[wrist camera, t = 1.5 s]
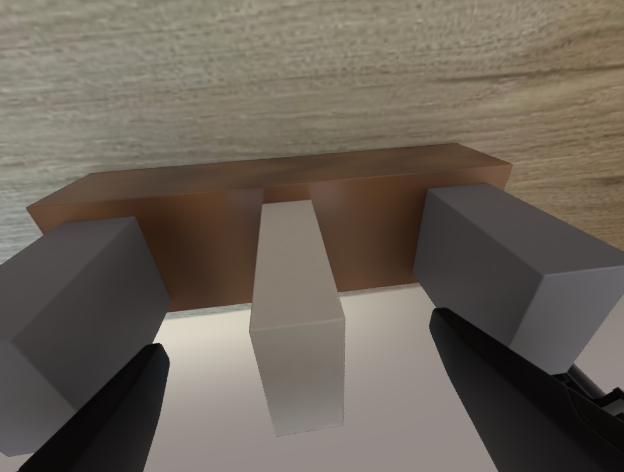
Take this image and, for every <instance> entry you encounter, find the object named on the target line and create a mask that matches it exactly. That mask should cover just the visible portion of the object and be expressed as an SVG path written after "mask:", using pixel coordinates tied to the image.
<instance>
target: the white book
mask: <svg viewBox="0 0 624 472" xmlns="http://www.w3.org/2000/svg"><path fill="white" fill-rule="evenodd" d="M250 318H251V319H250V326H249V333H250V337H251V341H252V345H253V349H254V353H255V357H256V360H257V364H258V368H259V372H260V376H261V380H262V384H263V388H264V392H265V396H266V400H267V404H268V407H269V412H270V416H271V419H272V423H273V428H274V431H275V435H276V436H277V437H278V436H284V435H290V434H296V433H303V432H310V431H316V430H322V429H328V428H335V427H342V426H343V418H344V415H343V413H344V361H345V316H344V313H343V310H342V306H341V302H340V299H339V295H338V292H337V288H336V285H335V281H334V278H333V274H332V271H331V267H330V264H329V260H328V257H327V253H326V250H325V246H324V243H323V239H322V236H321V232H320V229H319V225H318V222H317V218H316V215H315V211H314V208H313V204H312V201H311V200H302V201H291V202H280V203H270V204H263V205H262V212H261V221H260V231H259V240H258V250H257V260H256V269H255V279H254V288H253V298H252V307H251V317H250Z"/></svg>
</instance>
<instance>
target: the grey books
mask: <svg viewBox="0 0 624 472" xmlns="http://www.w3.org/2000/svg"><path fill="white" fill-rule="evenodd" d="M412 273H413V275H414V276H415V277H416V279H417V280H418V282H419V283H420V285H421V286H422V288H423V289H424V290H425V292H426V293H427V295H428V296H429V298H430V299H431V301H432V302H433V303H434V305H435V306H436V308H441V307H446V308H449V309H450V310H452V311H453V312H455V313H456V314H458V315H459V316H461V317H462V318H464V319H465V320H467V321H469V322H470V323H472V324H473V325H475V326H476V327H478V328H479V329H481V330H482V331H484V332H485V333H487V334H488V335H490V336H491V337H493V338H495V339H496V340H498V341H499V342H501V343H502V344H504V345H505V346H507V347H508V348H510V349H511V350H513V351H514V352H516V353H518V354H519V355H521V356H522V357H524V358H525V359H527V360H528V361H530V362H531V363H533V364H534V365H536V366H537V367H539V368H541V369H542V370H544V371H545V372H547V373H548V374H550V375H554V374H560V373H566V372H567V371H568V370H569V368H570V367H571V365H572V364H573V363H574V361H575V360H576V359H577V357H578V356H579V354H580V353H581V352H582V350H583V349H584V347H585V346H586V345H587V343H588V342H589V341H590V339H591V338H592V337H593V335H594V334H595V332H596V331H597V330H598V328H599V327H600V326H601V324H602V323H603V321H604V320H605V319H606V317H607V316H608V315H609V313H610V312H611V310H612V309H613V308H614V306H615V305H616V303H617V302H618V301H619V299H620V298H621V297H622V295H623V294H624V252H623V251H621V250H619V249H617V248H615V247H613V246H611V245H609V244H607V243H605V242H603V241H601V240H599V239H597V238H595V237H593V236H591V235H589V234H587V233H585V232H584V231H582V230H580V229H578V228H576V227H574V226H572V225H570V224H568V223H566V222H564V221H562V220H560V219H558V218H556V217H554V216H552V215H550V214H548V213H546V212H544V211H542V210H540V209H538V208H536V207H534V206H532V205H530V204H528V203H526V202H524V201H522V200H520V199H518V198H516V197H514V196H512V195H510V194H508V193H506V192H504V191H502V190H500V189H498V188H497V187H495V186H493V185H491V184H489V183H483V184H473V185H462V186H451V187H441V188H430V189H427V193H426V199H425V205H424V210H423V216H422V222H421V227H420V233H419V238H418V244H417V250H416V255H415V261H414V266H413V272H412ZM171 302H172V300H171V298H170V295H169V293H168V291H167V288H166V286H165V284H164V281H163V279H162V277H161V275H160V272H159V270H158V268H157V265H156V263H155V261H154V258H153V256H152V254H151V252H150V249H149V247H148V245H147V242H146V240H145V238H144V235H143V233H142V231H141V229H140V226H139V224H138V222H137V219H136V217H135V216H131V217H120V218H110V219H99V220H88V221H78V222H67V223H61V224H60V225H58V226H57V227H55V228H54V229H52V230H51V231H49V232H48V233H46V234H45V235H44V236H42V237H41V238H39V239H38V240H36V241H35V242H33V243H32V244H30V245H29V246H28V247H26V248H25V249H23V250H22V251H20V252H19V253H17V254H16V255H14V256H13V257H12V258H10V259H9V260H7V261H6V262H4V263H3V264H1V265H0V452H2V453H3V454H5V455H6V456H8V457H10V456H16V455H23V454H30V453H35V452H36V451H37V450H38V449H39V448H40V447H41V446H42V445H43V444H45V443H46V442H47V441H48V440H49V439H50V438H51V437H52V436H53V435H54V434H55V433H56V432H57V431H58V430H59V429H60V428H61V427H62V426H63V425H64V424H65V423H66V422H67V421H68V420H69V419H70V418H71V417H72V416H73V415H74V414H75V413H76V412H77V411H78V410H79V409H80V408H81V407H82V406H84V405H85V404H86V403H87V402H88V401H89V400H90V399H91V398H92V397H93V396H94V395H95V394H96V393H97V392H98V391H99V390H100V389H101V388H102V387H103V386H104V385H105V384H106V383H107V382H108V381H109V380H110V379H111V378H112V377H113V376H114V375H115V374H116V373H117V372H118V371H119V370H120V369H121V368H123V367H124V366H125V365H126V364H127V363H128V362H129V361H130V360H131V359H132V358H133V357H134V356H135V355H136V354H137V353H138V352H139V351H140V350H141V349H142V348H143V347H144V346H146V345H148V344H152V343H153V341H154V338H155V337H156V334H157V332H158V330H159V328H160V326H161V324H162V321H163V319H164V317H165V315H166V313H167V311H168V308H169V306H170V304H171Z"/></svg>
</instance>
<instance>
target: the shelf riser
mask: <svg viewBox="0 0 624 472" xmlns="http://www.w3.org/2000/svg"><path fill="white" fill-rule="evenodd" d="M512 165H513V164H511V163H508V162H506V161H503V160H500V159H498V158H495V157H492V156H489V155H487V154H484V153H481V152H479V151H476V150H473V149H471V148H468V147H465V146H463V145H460V144H457V143H455V144H443V145H431V146H418V147H406V148H394V149H382V150H370V151H357V152H345V153H333V154H321V155H309V156H296V157H284V158H272V159H260V160H247V161H235V162H223V163H211V164H199V165H186V166H174V167H162V168H150V169H137V170H125V171H113V172H101V173H90V174H88V175H87V176H85V177H83V178H81V179H79V180H77V181H75V182H73V183H71V184H69V185H68V186H66V187H64V188H62V189H60V190H58V191H56V192H54V193H52V194H50V195H49V196H47V197H45V198H43V199H41V200H39V201H37V202H35V203H33V204H31V205H30V206H28V207H26V209H27V211H28V212H29V214H30V215H31V217H32V218H33V220H34V221H35V223H36V224H37V226H38V227H39V229H40V230H41V232H42V233H43V235H45V234H46V233H48V232H49V231H51V230H52V229H54V228H55V227H57V226H58V225H60V224H61V223H67V222H78V221H88V220H99V219H110V218H120V217H131V216H135V217H136V219H137V222H138V224H139V226H140V229H141V231H142V233H143V235H144V238H145V240H146V242H147V245H148V247H149V249H150V252H151V254H152V256H153V258H154V261H155V263H156V265H157V268H158V270H159V272H160V275H161V277H162V279H163V281H164V284H165V286H166V288H167V291H168V293H169V295H170V298H171V300H172V302H171V304H170V306H169V308H168V311H167V313H168V312H176V311H184V310H193V309H201V308H209V307H218V306H226V305H234V304H243V303H251V302H252V298H253V288H254V279H255V269H256V260H257V250H258V240H259V231H260V221H261V212H262V205H263V204H270V203H280V202H291V201H302V200H311V201H312V204H313V208H314V211H315V215H316V218H317V222H318V225H319V229H320V232H321V236H322V239H323V243H324V246H325V250H326V253H327V257H328V260H329V264H330V267H331V271H332V274H333V278H334V281H335V285H336V288H337V292H343V291H352V290H360V289H368V288H377V287H385V286H393V285H402V284H410V283H419V282H418V280H417V279H416V277H415V276H414V275H413V273H412V272H413V266H414V261H415V255H416V250H417V244H418V238H419V233H420V227H421V222H422V216H423V210H424V205H425V199H426V193H427V189H430V188H441V187H451V186H462V185H473V184H483V183H489V184H491V185H493V186H495V187H497V188H498V189H500V190H502V191H504V189H505V186H506V183H507V180H508V177H509V174H510V171H511V168H512Z"/></svg>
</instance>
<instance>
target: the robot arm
mask: <svg viewBox="0 0 624 472" xmlns="http://www.w3.org/2000/svg"><path fill="white" fill-rule="evenodd" d="M429 329H430V332H431V335H432V337H433V340H434V342H435V345H436V347H437V350H438V352H439V355H440V357H441V359H442V362H443V364H444V367H445V369H446V372H447V374H448V376H449V378H450V380H451V382H452V384H453V386H454V388H455V390H456V392H457V394H458V395H459V397H460V399H461V401H462V403H463V405H464V407H465V409H466V411H467V413H468V415H469V417H470V418H471V420H472V422H473V424H474V426H475V428H476V430H477V432H478V434H479V436H480V438H481V439H482V441H483V443H484V445H485V447H486V449H487V451H488V453H489V455H490V457H491V459H492V460H493V462H494V464H495V466H496V468H497V470H498V472H624V391H623V390H622V389H620V388H619V387H617V388H615V389H613V391H612V392H610V393H609V394H607V395H606V394H605V393H604V392H603V391H602V390H601V389H600V388H599V387H598V386H597V385H596V384H595V383H594V382H593V381H592V380H590V379H589V378H588V377H587V376H586V375H585V374H584V373H583V372H582V371H581V370H580V369H579V368H578V367H577V366H576V365H575V364H574V363H573V364H572V365H571V367H570V368H569V370H568V371H567V372H566V373H560V374H554V375H550V374H548V373H547V372H545V371H544V370H542V369H541V368H539V367H537V366H536V365H534V364H533V363H531V362H530V361H528V360H527V359H525V358H524V357H522V356H521V355H519V354H518V353H516V352H514V351H513V350H511V349H510V348H508V347H507V346H505V345H504V344H502V343H501V342H499V341H498V340H496V339H495V338H493V337H491V336H490V335H488V334H487V333H485V332H484V331H482V330H481V329H479V328H478V327H476V326H475V325H473V324H472V323H470V322H469V321H467V320H465V319H464V318H462V317H461V316H459V315H458V314H456V313H455V312H453V311H452V310H450V309H449V308H446V307H441V308H435V309H434V310H433V312H432V316H431V320H430V324H429ZM169 366H170V361H169V357H168V356H167V354H166V352H165V350H164V348H163V346H162V344H160V343H155V344H148V345H146V346H144V347H143V348H142V349H141V350H140V351H139V352H138V353H137V354H136V355H135V356H134V357H133V358H132V359H131V360H130V361H129V362H128V363H127V364H126V365H125V366H124V367H123V368H121V369H120V370H119V371H118V372H117V373H116V374H115V375H114V376H113V377H112V378H111V379H110V380H109V381H108V382H107V383H106V384H105V385H104V386H103V387H102V388H101V389H100V390H99V391H98V392H97V393H96V394H95V395H94V396H93V397H92V398H91V399H90V400H89V401H88V402H87V403H86V404H85V405H84V406H82V407H81V408H80V409H79V410H78V411H77V412H76V413H75V414H74V415H73V416H72V417H71V418H70V419H69V420H68V421H67V422H66V423H65V424H64V425H63V426H62V427H61V428H60V429H59V430H58V431H57V432H56V433H55V434H54V435H53V436H52V437H51V438H50V439H49V440H48V441H47V442H46V443H45V444H43V445H42V446H41V447H40V448H39V449H38V450H37V451H36V452H35V453H34V454H33V455H32V456H31V457H30V458H29V459H28V460H27V461H26V462H25V463H24V464H23V465H22V466H21V467H20V468H19V470H18V471H17V472H143V470H144V467H145V464H146V460H147V457H148V453H149V450H150V447H151V444H152V440H153V437H154V434H155V430H156V427H157V424H158V420H159V416H160V412H161V407H162V402H163V396H164V392H165V387H166V382H167V376H168V371H169Z"/></svg>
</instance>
